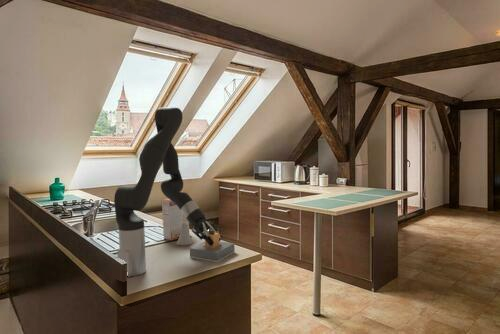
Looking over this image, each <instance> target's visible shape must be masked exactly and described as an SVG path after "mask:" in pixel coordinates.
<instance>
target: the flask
mask: <svg viewBox="0 0 500 334" xmlns="http://www.w3.org/2000/svg"><path fill="white" fill-rule="evenodd" d="M187 225H188V224H187V223H182V224H181V233H180V236H179V238H177V239H178V240H177V241H176V244H177V245H178V246H189V245H192V244H193V243H194V242H193V240H192V238H191V235H190V231H189V232H188V229H187Z"/></svg>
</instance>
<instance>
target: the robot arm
mask: <svg viewBox="0 0 500 334" xmlns="http://www.w3.org/2000/svg"><path fill="white" fill-rule="evenodd" d="M182 121H183V112H182V110H181V109H180V108H178V107H176V106H175V107H173V106H172V107H171V106H170V107H158V108H157V109H156V110H155V113H154V124H155V127H156V132H157V133H156V134H154V135H153V136H152V137H151V138H150V139H148V141H147V142H146V143H145V144H144V146H143V148H142V150H141V153H140V154H139V159H138V160H139V161H138V162H139V167H140V171H141V173H140V177H139V180H138V182H137V183H136V185H120V186H119V187H117V189H116V190H115V193H114V198H113V199H114V204H113V205H114V211H115V213H114V215H115V221H116V223H117V227H118V244H119V245H118V246H119V248H118V249H117V251H116V252H117V259H118V258H120V259H122V260H124V261H125V262H127V272H128V278H131V276H132V277H136V276H139V275H142V274H144V273H146V272H147V264H146V263H147V262H146V238H145V234H146V233H145V220H144V219H143V218H142V217H140V216H138V214H136V213H135V211H136V212H137V211H142V210H143V209H144V208H145V207H146V206H147V204H148V202H149V199H150V195H151V192H152V190H153V187H154V184H155V181H156V177H157V174H158V173H159V170H160V168H161V165H162V170H163V171H162V172H163V173H164V174H165V175H169V176H170V178H169V179H165V180H163V181H162V182H161V184H160V190H161V192H162V194H163V195H164V196H165V197H166V199H168V198H169V199H170V200H171V201H173V202H174V203H175V204H176V205H177V206H178V207H179V209H180V210H181V212H182V213H183V215H184V216H185V218H186V219H187V220H188V222H189V225H190V226H192V227H193V228H192V229H191V232H192V233H193V234H194V235H195V236H196V237H197V238H199V240H201V241H202V240H204V241H205V240H206V241H207V243H208V244H209V245H210V246H212V245H213V244H214V242H213V240H212V239H211V238H210V236H208V233H209V230H214V233H218V231H219V229H218V228H217V226H216V224H215V222H214V221H213V220H212V219H211V220H210V221H208V219H206V214H205V213H204V212H203V211H202V209H201V207H199V205H198V204H197V203H196V202H195V201H194V200H193V198H192V197H191V196H190V195H189V193H188V192H182V191H183V189H184V181H183V177H182V175H181V172H180V169H179V168H180V165H179V155H178V152H177V150H176V147H175V146H174V145H173V144H172V142H173V139H174V137H175V136H176V134H177V132H178V131H179V129H180V127H181V125H182ZM221 240H222V238H221V237H220V236H219V241H221Z"/></svg>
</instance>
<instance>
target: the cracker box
mask: <svg viewBox="0 0 500 334" xmlns="http://www.w3.org/2000/svg"><path fill="white" fill-rule="evenodd" d="M161 205H162V206H161V209H162V212H161V213H162V227H163V228H162V229H163V231H162V233H163V240H165V239H169V240H168V241H174V240H177V239H179V238H178V237H179V236H180V233H181V224H182V223H187V224H188V225H187V229H188V232H189V233H190V223H189V222H188V220H187V219H186V218H185V216H184V215H183V213H182V212H181V210H180V209H179V207H178V206H177V205H176V204H175V203H174V202H173V201H171V200H170V199H169V198H165V199H161ZM176 238H177V239H176Z"/></svg>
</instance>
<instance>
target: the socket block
mask: <svg viewBox="0 0 500 334" xmlns="http://www.w3.org/2000/svg"><path fill="white" fill-rule="evenodd" d="M234 253H235V243H233V242H227V241H221V240H220V241H219V247H217V248H215V249H213V248H207V247H205V241H202V242H200V243H198V244H196V245H194V246H192V247H190V248H189V258H193V259H197V260H203V261H210V262H214V263H218V262H220V261H222V260H224V259H225V258H228V257H229V256H230V255H232V254H234Z"/></svg>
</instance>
